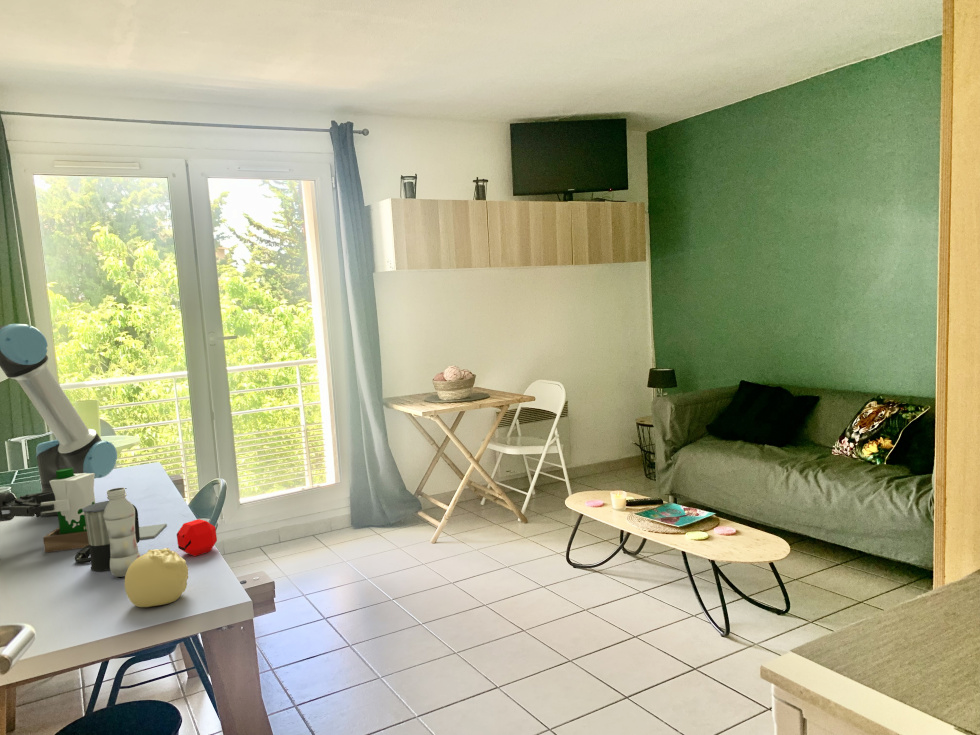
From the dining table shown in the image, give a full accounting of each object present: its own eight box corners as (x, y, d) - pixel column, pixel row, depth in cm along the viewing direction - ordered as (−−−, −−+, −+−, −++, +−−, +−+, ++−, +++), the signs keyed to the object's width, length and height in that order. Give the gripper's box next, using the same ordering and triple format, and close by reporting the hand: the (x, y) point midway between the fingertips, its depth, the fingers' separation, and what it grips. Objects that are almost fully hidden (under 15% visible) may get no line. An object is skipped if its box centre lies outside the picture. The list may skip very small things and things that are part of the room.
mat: (125, 530, 205) (125, 528, 205) (166, 525, 207) (166, 523, 207) (111, 543, 194) (110, 541, 194) (154, 537, 196) (154, 535, 196)
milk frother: (122, 570, 172) (114, 508, 171) (54, 576, 171) (45, 515, 170) (148, 549, 186) (140, 492, 185) (84, 556, 186) (76, 498, 184)
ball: (175, 555, 180) (171, 524, 179) (206, 544, 186) (202, 515, 185) (191, 560, 174) (187, 529, 174) (222, 549, 180) (218, 519, 180)
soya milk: (79, 536, 204) (69, 466, 202) (107, 535, 202) (97, 464, 200) (55, 547, 195) (44, 474, 193) (84, 546, 193) (73, 472, 192)
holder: (66, 537, 204) (64, 523, 204) (115, 531, 206) (113, 517, 206) (45, 552, 191) (43, 537, 191) (97, 545, 193) (95, 531, 193)
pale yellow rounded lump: (197, 600, 149) (191, 548, 148) (133, 619, 142) (125, 565, 141) (184, 585, 158) (178, 536, 157) (123, 602, 151) (116, 551, 150)
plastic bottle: (120, 570, 171) (108, 487, 170) (148, 568, 171) (137, 484, 169) (105, 581, 165) (93, 494, 163) (134, 579, 165) (122, 492, 163)
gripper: (20, 508, 207) (99, 499, 210) (-30, 536, 183) (61, 525, 185) (16, 483, 207) (95, 474, 209) (-34, 506, 182) (56, 496, 185)
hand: (79, 498), depth 197 cm, fingers open, 13 cm apart
